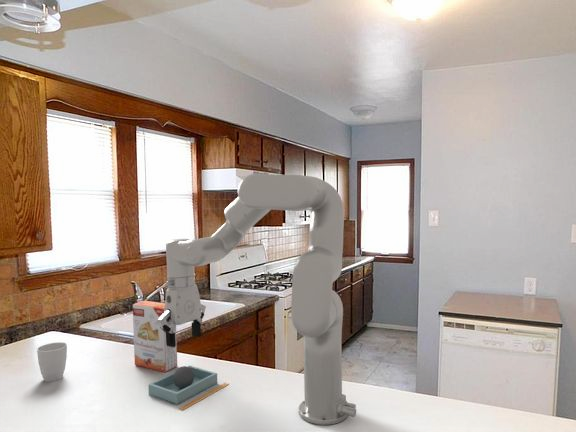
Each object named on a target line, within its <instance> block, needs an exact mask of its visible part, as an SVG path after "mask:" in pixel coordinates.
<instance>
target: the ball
mask: <svg viewBox="0 0 576 432" xmlns="http://www.w3.org/2000/svg"><path fill="white" fill-rule="evenodd" d="M174 372H175V373H174ZM174 372H173V373H174V375H173V381H174V384H175V385H176V386H177V387H179V388H186V387H188V386H190V385H191V384H192V383H193V381H194V372H193V370H192V369H191V368H189V367H188V366H187V365H185V366H180V367H178V368H177V369H176V370H175V371H174Z"/></svg>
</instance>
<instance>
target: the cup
mask: <svg viewBox="0 0 576 432" xmlns="http://www.w3.org/2000/svg"><path fill="white" fill-rule="evenodd" d="M67 350H68V344H67V343H66V342H61V341H60V342H59V341H58V342H51V343H46V344H42V345H41V346H38V347H37V348H36V351H37V353H36V354H37V362H38V366H39V370H40V374H41V376H42V379H43V381H44V382H48V383H51V381H52V382H56V381H59V380H61V379H62V378H64V377H63V376H64V374H65V370H66V365H67V364H66V363H67V357H68V355H67V354H68V353H67V352H68V351H67Z"/></svg>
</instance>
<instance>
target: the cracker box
mask: <svg viewBox="0 0 576 432" xmlns="http://www.w3.org/2000/svg"><path fill="white" fill-rule="evenodd" d="M164 313H165V302H157V301H149V300H143V301H138V302H134V304H133V303H132V318H133V319H132V323H133V329H132V330H133V348H134V349H133V352H134V356H133V357H134V366H139V367H142V368H147V369H151V370H155V371H159V372H163V373H166V372H170V371H171V370H172V369H174V368H177V367H178V343H177V326H176V327H175V329H174V331H173V332H174V333H175V339H176V346H175V347H169V346H167V345H166V332H164V331H163V330H162V329H161V328H160V326H159V324H158V322H157V320H158V319H159V318H160V317H161V316H162V315H163V314H164ZM165 324H167V322H166V320H165ZM170 327H171V326H170Z"/></svg>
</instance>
